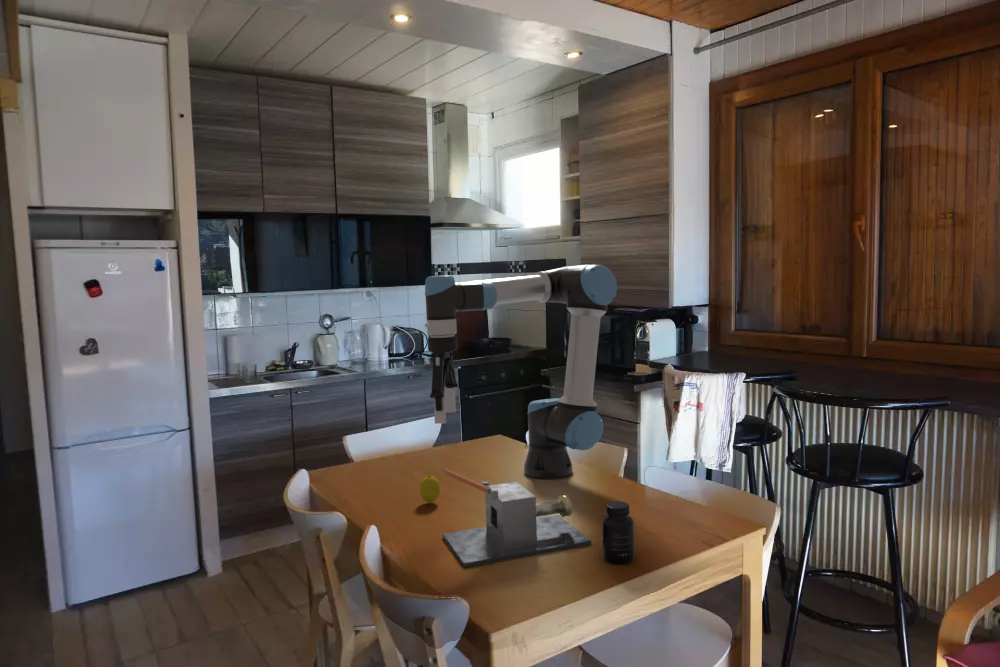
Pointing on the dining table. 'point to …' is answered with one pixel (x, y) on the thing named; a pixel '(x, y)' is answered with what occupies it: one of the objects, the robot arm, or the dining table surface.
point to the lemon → (429, 489)
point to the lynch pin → (555, 507)
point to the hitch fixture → (512, 530)
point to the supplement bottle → (618, 534)
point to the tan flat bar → (466, 480)
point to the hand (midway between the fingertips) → (445, 417)
